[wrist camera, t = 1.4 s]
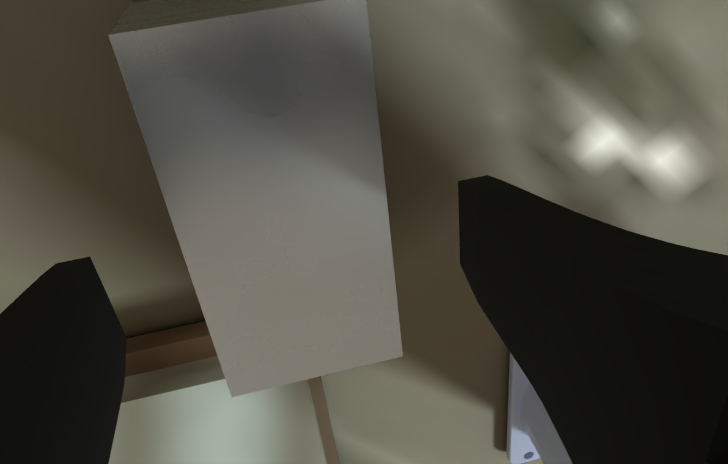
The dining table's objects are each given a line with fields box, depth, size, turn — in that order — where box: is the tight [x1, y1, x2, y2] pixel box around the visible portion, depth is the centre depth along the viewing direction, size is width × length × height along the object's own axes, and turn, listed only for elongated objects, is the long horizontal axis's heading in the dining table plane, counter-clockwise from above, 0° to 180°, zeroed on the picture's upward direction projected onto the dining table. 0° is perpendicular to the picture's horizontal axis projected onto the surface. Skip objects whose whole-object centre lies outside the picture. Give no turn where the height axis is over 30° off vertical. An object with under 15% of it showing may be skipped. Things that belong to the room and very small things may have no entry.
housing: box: [108, 0, 403, 397], centre depth 15 cm, size 4×9×6 cm, turn 5°
